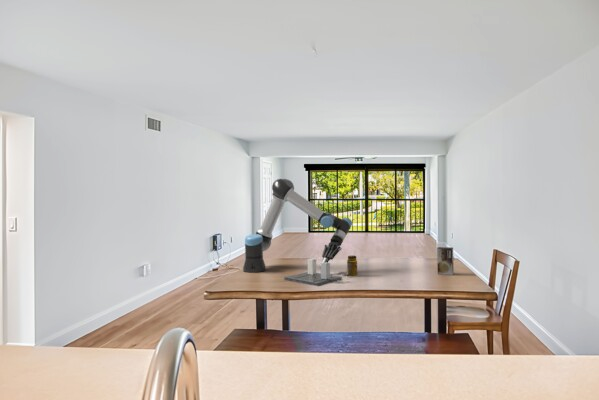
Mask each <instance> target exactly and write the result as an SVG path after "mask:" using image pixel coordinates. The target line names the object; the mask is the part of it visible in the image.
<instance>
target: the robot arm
mask: <svg viewBox="0 0 599 400" xmlns="http://www.w3.org/2000/svg"><path fill="white" fill-rule="evenodd" d="M271 189H272V194H271V195H272V200H271V201H270V204H269V207H268V209H267V212H266V213H265V216H264V219H263V221H262V224H261V225H260V228H258V229H257V230H256V232H255V233H254V234H248V235H246V237H244V238H245V239H244V251H245V253H244V254H245V255H244V256H245V259H244V264H243V267H242V271H243V272H245V273H261V272H265V271H266V270H267V268H266V267H267V266H266V264H265V261H264V252H266V251H268V249H270V246H271V245H272V238H273V234H272V233H273V231H274V228H275V226H276V225H277V224H276V223H277V222H278V219H279V217H280V214H281V212H282V209H283V207H284V205H285V203H287V202H288V203H290V204H292V205H293V206H294V207H296V208H298V209H299V210H300V211H301V212H304V213H305V214H306V215H308V216H309V217H310V218H312V219H313V220H315V221H316V222H317V223H319V224H320V226H321V227H323V228H324V229H330V228H333V229H335V231H334V233H333V235H332V236H331V238H330V242H329V243H328V244H324V249H323V251H322V255H321V257H322V260H321V263H323V262H327V263H329V261H331V260H332V261H333V260H334V258H335V257H336V256H337V255H338V253H339V252H340V251H342V247H341V246H342V245H343V242H344V240H345V238H346V237H347V235H348V233H349V232H350V229H351V227H352V226H353V221H352V219H350V218H349V217H343V218H339V217H338V216H336V215H334V214H332V213H331V212H327V211H326V212H325V211H324V210H322V209H320V208H319V207H317V206H316V205H315V204H313V203H312V202H311V201H309V200H308V199H306V198H304V197H303V196H302V195H300V194H299V193H298V192H296V190H295V186H294V183H293V182H292V181H291V180H289V179H287V178H278V179H276V180H274V181H273V182H272V185H271ZM319 267H320V268H321V264H319Z"/></svg>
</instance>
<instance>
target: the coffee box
mask: <svg viewBox="0 0 599 400" xmlns="http://www.w3.org/2000/svg"><path fill="white" fill-rule="evenodd" d="M436 254H437V255H436V259H437V262H436V263H437V275H442V276H443V275H444V276H448V275H449V276H454V273H455V272H454V270H455V269H454V247H450V246H449V247H447V246H445V247H444V246H443V247H442V246H439V247H438V246H437V248H436Z"/></svg>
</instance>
